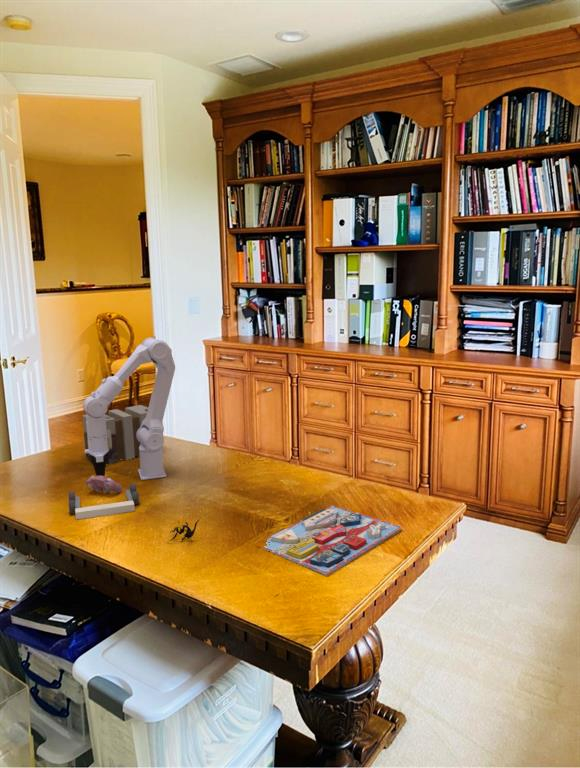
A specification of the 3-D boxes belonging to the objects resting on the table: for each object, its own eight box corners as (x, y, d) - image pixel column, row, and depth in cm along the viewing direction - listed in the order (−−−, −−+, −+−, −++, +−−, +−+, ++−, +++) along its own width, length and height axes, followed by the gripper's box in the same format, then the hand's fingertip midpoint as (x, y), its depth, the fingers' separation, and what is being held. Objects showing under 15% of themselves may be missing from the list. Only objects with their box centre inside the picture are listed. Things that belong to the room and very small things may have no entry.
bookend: (164, 453, 220) (162, 409, 217) (97, 469, 205) (94, 422, 201) (144, 443, 232) (141, 402, 229) (79, 457, 216) (75, 413, 213)
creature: (161, 545, 151) (184, 546, 147) (156, 524, 151) (179, 525, 146) (183, 533, 158) (205, 534, 153) (178, 513, 157) (201, 513, 153)
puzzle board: (331, 509, 170) (331, 500, 170) (402, 532, 155) (402, 523, 154) (253, 548, 148) (252, 537, 148) (326, 580, 133) (326, 568, 132)
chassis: (69, 502, 176) (68, 490, 175) (135, 493, 182) (134, 481, 182) (69, 520, 164) (68, 508, 163) (140, 510, 170) (139, 498, 169)
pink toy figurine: (89, 496, 185) (81, 480, 180) (98, 485, 188) (89, 469, 184) (116, 500, 181) (108, 484, 177) (124, 489, 184) (116, 473, 180)
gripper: (82, 430, 192) (86, 471, 194) (83, 443, 178) (87, 487, 181) (106, 428, 194) (109, 468, 197) (109, 440, 181) (112, 484, 183)
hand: (100, 477), depth 189 cm, fingers closed
